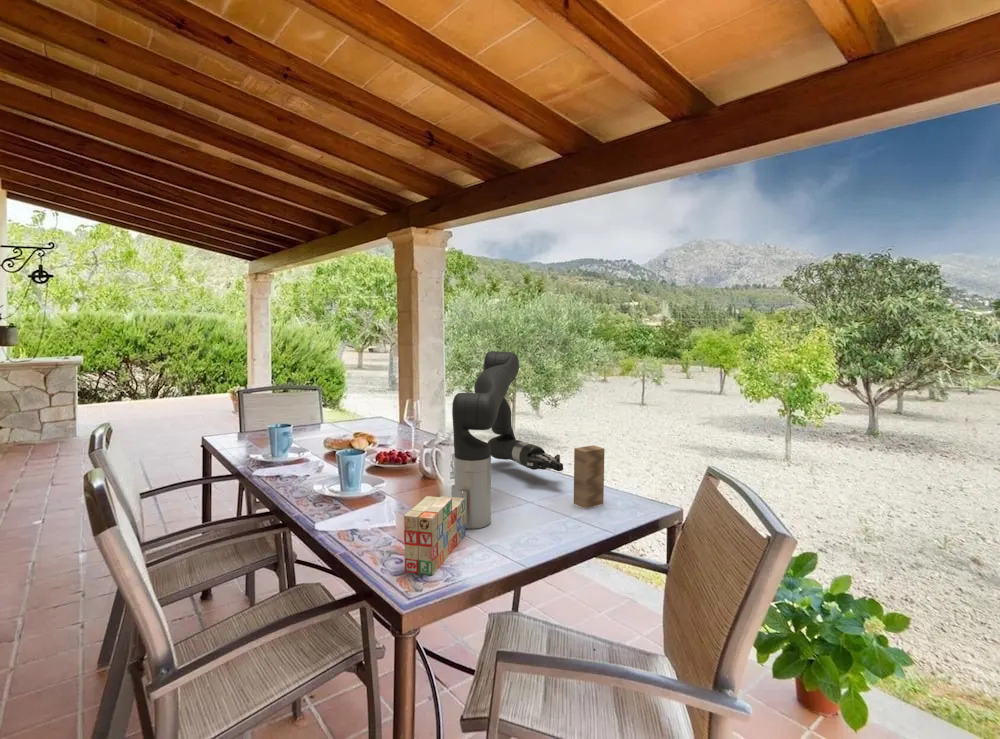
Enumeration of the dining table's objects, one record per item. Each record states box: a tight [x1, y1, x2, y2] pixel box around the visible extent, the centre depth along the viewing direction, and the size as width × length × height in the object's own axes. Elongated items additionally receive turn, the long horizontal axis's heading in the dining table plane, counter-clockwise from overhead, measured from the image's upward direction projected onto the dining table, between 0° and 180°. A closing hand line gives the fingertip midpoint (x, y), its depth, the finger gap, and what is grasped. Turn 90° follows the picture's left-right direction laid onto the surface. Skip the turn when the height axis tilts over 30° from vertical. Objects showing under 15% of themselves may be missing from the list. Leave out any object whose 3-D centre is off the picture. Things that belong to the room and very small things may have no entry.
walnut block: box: [573, 445, 606, 510], centre depth 150 cm, size 7×4×16 cm, turn 121°
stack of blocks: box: [403, 495, 466, 576], centre depth 120 cm, size 21×6×12 cm, turn 165°
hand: (561, 467), depth 161 cm, fingers closed
